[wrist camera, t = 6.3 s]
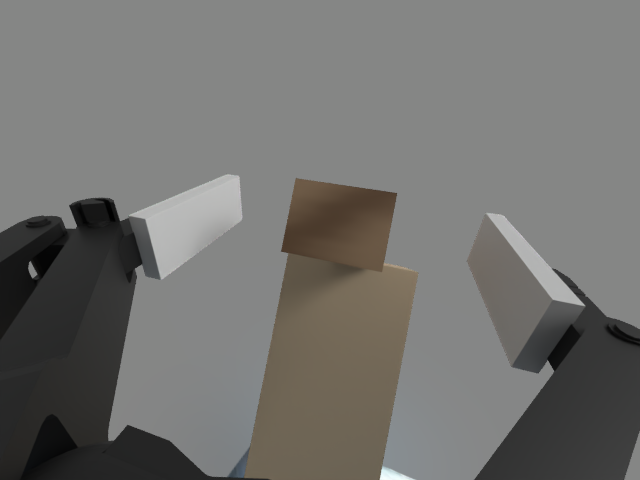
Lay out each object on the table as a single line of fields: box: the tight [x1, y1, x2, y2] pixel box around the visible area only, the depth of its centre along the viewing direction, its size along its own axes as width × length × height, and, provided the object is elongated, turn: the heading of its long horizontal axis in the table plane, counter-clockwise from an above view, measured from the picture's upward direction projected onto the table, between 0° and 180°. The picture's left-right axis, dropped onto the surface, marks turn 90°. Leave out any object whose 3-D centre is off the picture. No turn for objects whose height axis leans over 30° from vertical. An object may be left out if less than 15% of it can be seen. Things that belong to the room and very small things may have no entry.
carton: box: [244, 253, 418, 480], centre depth 26 cm, size 10×11×36 cm
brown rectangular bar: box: [281, 178, 397, 272], centre depth 24 cm, size 4×27×3 cm, turn 169°
